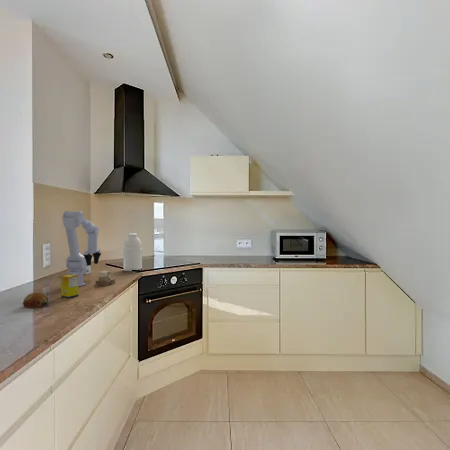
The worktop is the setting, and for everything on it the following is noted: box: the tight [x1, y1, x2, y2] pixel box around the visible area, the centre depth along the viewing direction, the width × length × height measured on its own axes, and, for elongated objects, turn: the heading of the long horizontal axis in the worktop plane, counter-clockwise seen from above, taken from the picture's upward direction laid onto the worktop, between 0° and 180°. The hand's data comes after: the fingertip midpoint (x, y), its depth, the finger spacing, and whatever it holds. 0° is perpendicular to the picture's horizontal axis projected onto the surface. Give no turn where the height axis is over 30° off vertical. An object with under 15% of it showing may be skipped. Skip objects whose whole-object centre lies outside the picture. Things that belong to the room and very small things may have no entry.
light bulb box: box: [83, 264, 92, 275], centre depth 231 cm, size 11×7×11 cm, turn 84°
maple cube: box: [98, 270, 112, 281], centre depth 197 cm, size 5×5×5 cm
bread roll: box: [22, 291, 49, 309], centre depth 149 cm, size 10×10×8 cm
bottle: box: [122, 232, 143, 272], centre depth 249 cm, size 14×14×28 cm
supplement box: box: [60, 274, 79, 299], centre depth 166 cm, size 6×6×11 cm
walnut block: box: [95, 278, 116, 287], centre depth 197 cm, size 8×8×3 cm
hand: (92, 264), depth 212 cm, fingers open, 7 cm apart
